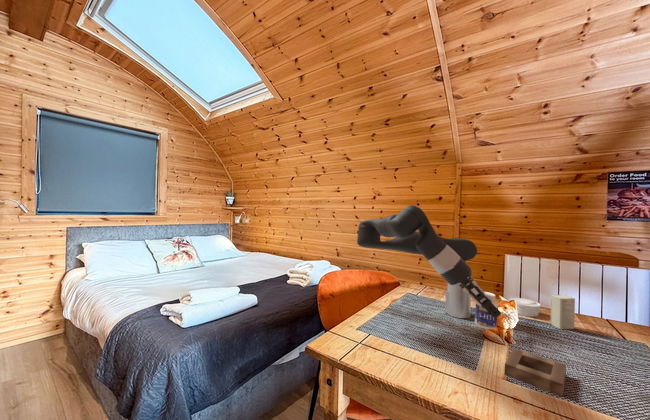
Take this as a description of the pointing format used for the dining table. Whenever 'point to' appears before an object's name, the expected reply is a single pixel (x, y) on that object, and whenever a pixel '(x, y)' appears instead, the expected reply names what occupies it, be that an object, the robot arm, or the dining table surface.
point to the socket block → (535, 377)
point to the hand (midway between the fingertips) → (493, 311)
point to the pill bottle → (485, 313)
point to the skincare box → (562, 311)
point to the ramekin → (527, 307)
